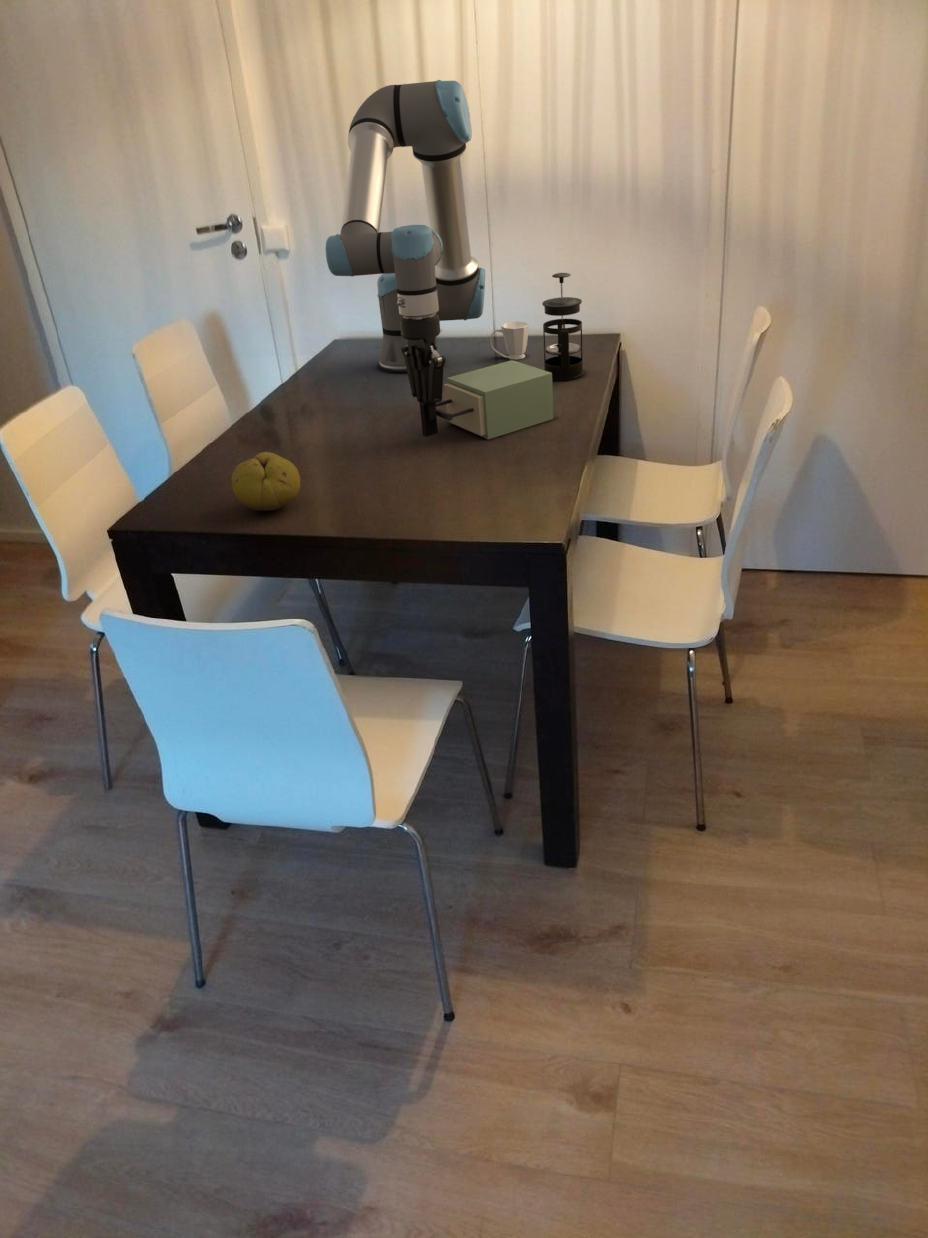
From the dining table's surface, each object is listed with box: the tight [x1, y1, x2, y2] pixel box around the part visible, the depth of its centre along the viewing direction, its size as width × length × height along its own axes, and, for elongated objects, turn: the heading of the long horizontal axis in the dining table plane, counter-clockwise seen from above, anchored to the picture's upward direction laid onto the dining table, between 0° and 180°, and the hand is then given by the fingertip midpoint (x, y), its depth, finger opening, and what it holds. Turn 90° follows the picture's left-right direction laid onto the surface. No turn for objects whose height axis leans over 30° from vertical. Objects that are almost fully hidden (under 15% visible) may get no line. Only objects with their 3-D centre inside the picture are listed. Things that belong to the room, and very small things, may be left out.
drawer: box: [436, 383, 486, 437], centre depth 192 cm, size 22×13×8 cm, turn 124°
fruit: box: [231, 451, 301, 512], centre depth 164 cm, size 11×12×10 cm
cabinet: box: [446, 359, 554, 440], centre depth 194 cm, size 17×14×10 cm
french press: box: [541, 272, 585, 382], centre depth 215 cm, size 12×9×23 cm
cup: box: [489, 321, 530, 361], centre depth 235 cm, size 7×10×8 cm
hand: (430, 433), depth 188 cm, fingers closed
